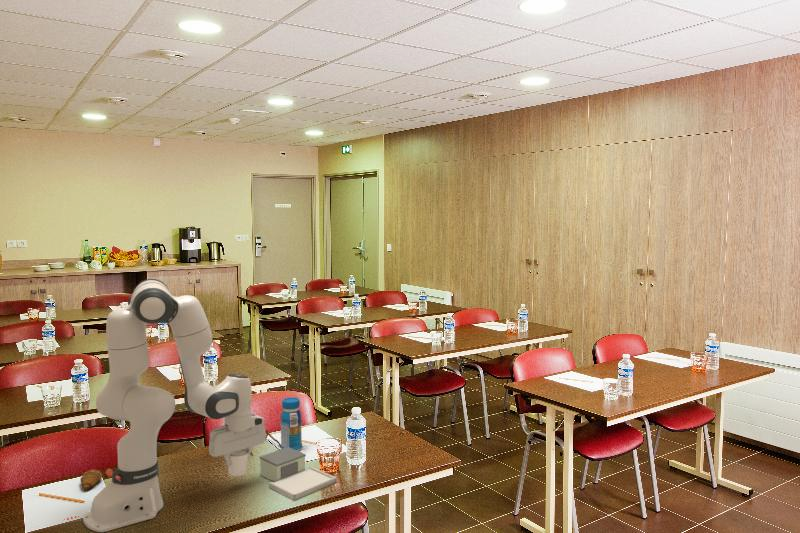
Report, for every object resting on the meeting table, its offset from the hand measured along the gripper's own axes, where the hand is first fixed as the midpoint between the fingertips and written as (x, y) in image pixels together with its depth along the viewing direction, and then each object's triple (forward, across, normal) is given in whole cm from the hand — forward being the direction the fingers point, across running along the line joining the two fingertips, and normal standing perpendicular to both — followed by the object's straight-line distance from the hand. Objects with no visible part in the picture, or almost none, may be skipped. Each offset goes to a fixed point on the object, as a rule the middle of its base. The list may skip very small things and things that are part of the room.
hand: (237, 462), depth 200 cm
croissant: (+10, -32, +40) cm, 52 cm away
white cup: (+4, 0, 0) cm, 4 cm away
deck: (+8, +16, -10) cm, 20 cm away
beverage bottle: (+7, +33, +13) cm, 36 cm away
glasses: (+8, +26, +24) cm, 36 cm away
